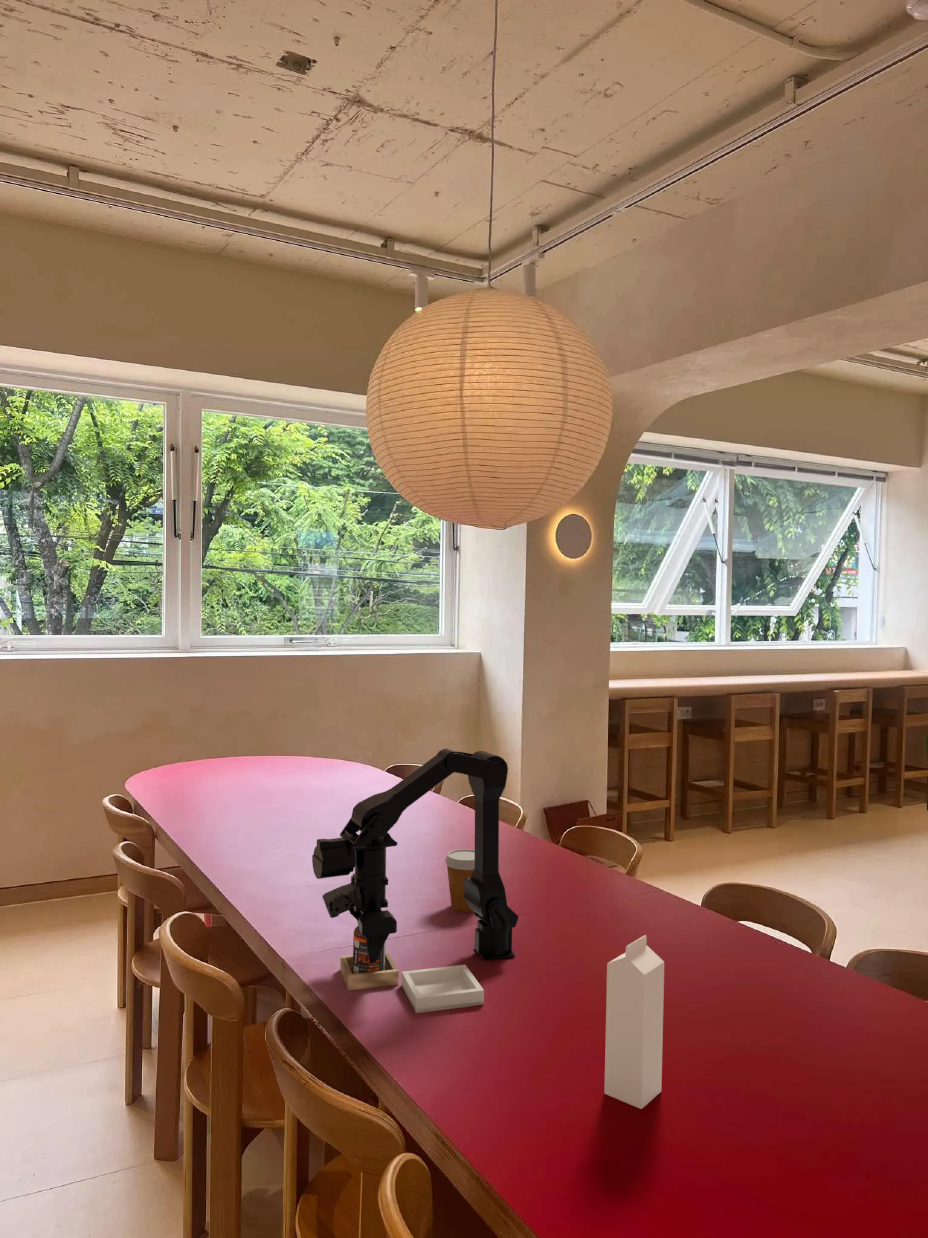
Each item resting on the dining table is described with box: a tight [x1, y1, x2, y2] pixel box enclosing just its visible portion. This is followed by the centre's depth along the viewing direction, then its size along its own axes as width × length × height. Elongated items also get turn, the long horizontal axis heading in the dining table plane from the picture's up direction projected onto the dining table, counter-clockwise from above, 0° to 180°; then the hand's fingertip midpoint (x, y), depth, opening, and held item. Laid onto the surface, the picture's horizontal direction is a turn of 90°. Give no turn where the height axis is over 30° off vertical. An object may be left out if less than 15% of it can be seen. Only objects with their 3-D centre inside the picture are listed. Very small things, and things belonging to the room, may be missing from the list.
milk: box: [604, 934, 665, 1110], centre depth 127 cm, size 6×6×22 cm
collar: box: [339, 951, 400, 991], centre depth 164 cm, size 9×9×2 cm
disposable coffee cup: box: [444, 848, 475, 913], centre depth 201 cm, size 10×10×12 cm
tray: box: [401, 964, 485, 1014], centre depth 157 cm, size 12×11×2 cm
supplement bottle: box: [352, 915, 387, 974], centre depth 164 cm, size 6×6×11 cm
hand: (369, 955), depth 164 cm, fingers closed on supplement bottle, 6 cm apart
